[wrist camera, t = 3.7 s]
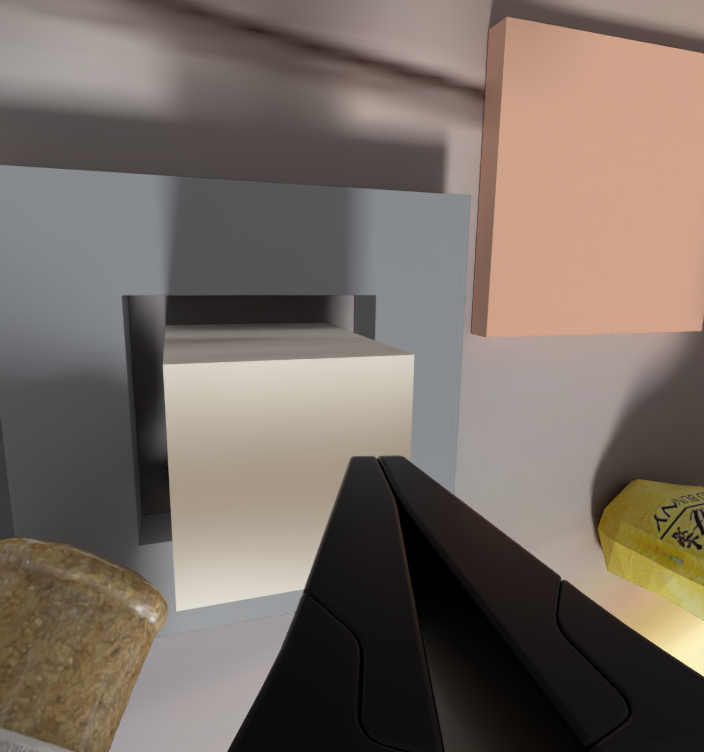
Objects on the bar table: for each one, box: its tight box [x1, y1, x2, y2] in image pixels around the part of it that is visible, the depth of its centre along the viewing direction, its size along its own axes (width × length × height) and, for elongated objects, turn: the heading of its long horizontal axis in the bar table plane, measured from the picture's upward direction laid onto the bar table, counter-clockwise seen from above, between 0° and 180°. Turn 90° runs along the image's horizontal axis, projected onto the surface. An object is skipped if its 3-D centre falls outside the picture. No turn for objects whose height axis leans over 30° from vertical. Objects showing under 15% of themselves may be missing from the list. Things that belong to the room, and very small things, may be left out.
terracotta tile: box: [471, 17, 704, 337], centre depth 20 cm, size 10×10×1 cm
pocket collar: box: [0, 165, 471, 638], centre depth 17 cm, size 13×13×2 cm
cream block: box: [163, 323, 414, 612], centre depth 14 cm, size 5×5×7 cm
